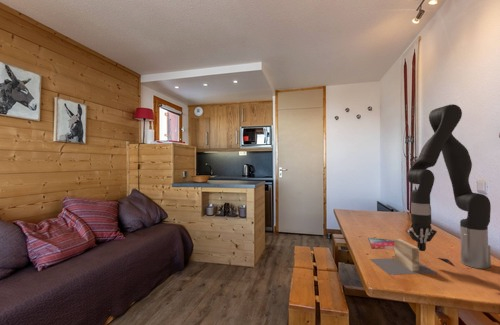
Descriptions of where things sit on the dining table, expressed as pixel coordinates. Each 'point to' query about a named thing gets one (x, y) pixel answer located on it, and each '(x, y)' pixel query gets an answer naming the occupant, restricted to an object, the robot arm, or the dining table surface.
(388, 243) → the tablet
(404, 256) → the tile
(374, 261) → the mat
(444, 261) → the cell phone
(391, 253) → the dining table surface
